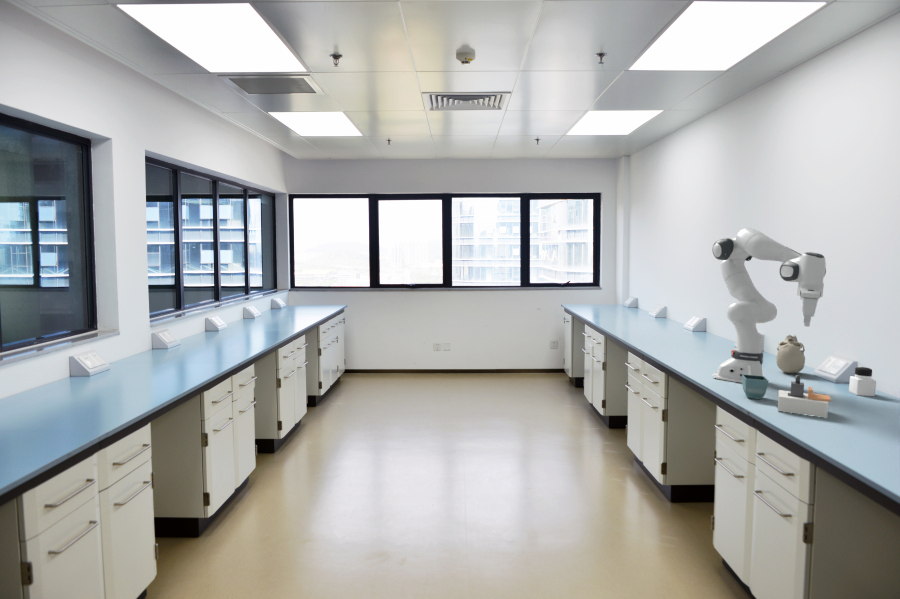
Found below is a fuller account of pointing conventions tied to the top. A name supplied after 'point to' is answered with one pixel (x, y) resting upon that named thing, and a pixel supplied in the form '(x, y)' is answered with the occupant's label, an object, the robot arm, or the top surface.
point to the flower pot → (754, 386)
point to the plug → (797, 388)
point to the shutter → (817, 396)
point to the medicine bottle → (862, 382)
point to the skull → (790, 355)
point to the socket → (801, 404)
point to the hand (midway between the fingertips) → (806, 324)
